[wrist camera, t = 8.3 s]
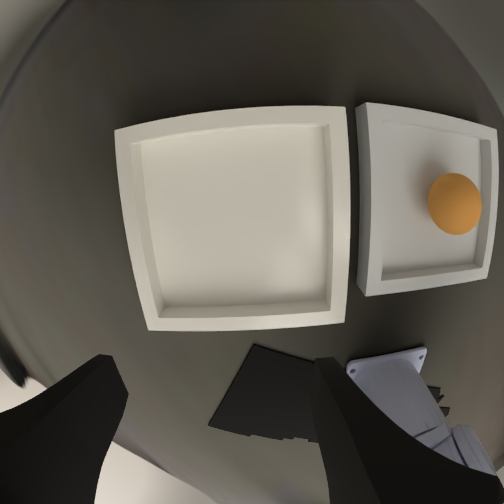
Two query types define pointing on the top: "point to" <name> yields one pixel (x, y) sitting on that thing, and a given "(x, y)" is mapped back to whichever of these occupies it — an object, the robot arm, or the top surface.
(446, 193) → the ball
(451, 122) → the tray
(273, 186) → the dish
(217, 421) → the black flat plate
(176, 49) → the top surface
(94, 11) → the top surface
